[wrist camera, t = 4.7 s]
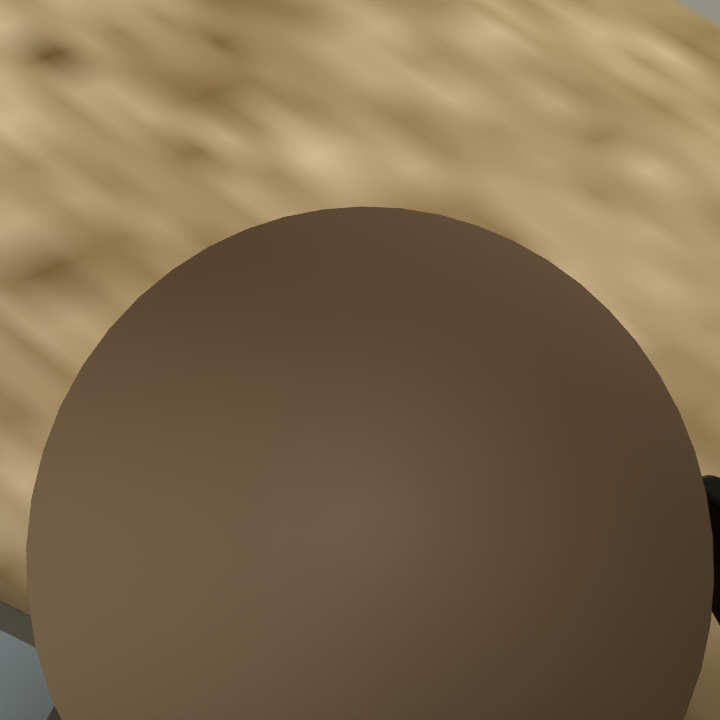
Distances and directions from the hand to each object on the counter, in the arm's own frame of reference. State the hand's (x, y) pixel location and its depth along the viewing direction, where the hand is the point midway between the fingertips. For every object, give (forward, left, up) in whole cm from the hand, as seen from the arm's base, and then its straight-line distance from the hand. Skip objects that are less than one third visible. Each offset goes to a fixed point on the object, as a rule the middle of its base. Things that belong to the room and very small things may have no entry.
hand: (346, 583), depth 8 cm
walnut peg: (0, 0, -8) cm, 8 cm away
